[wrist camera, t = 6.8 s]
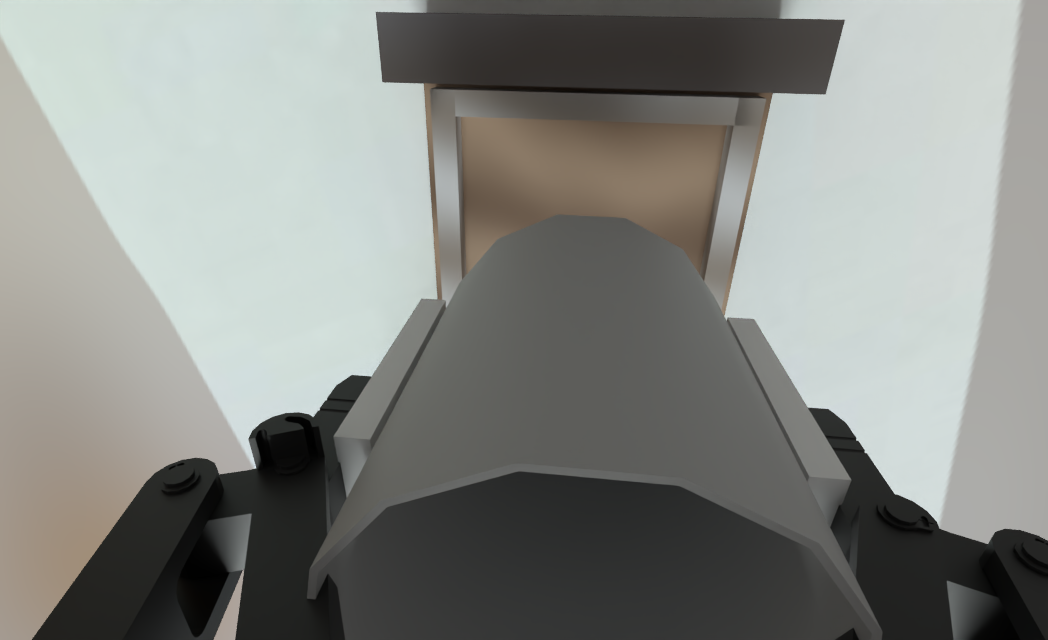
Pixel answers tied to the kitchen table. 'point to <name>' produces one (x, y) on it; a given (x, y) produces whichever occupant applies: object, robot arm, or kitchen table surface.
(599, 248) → the cup
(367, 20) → the kitchen table surface
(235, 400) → the kitchen table surface
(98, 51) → the kitchen table surface
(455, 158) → the brown flat tray-like piece
